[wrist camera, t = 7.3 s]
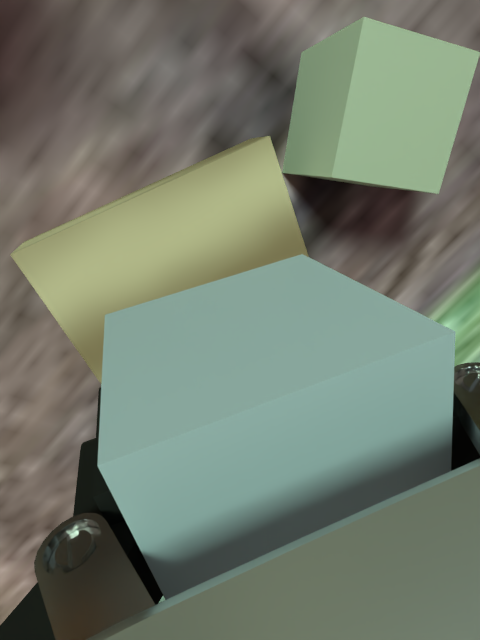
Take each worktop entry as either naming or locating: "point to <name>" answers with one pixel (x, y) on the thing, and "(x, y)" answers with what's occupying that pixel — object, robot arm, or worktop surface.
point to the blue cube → (266, 413)
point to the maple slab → (163, 241)
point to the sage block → (378, 107)
